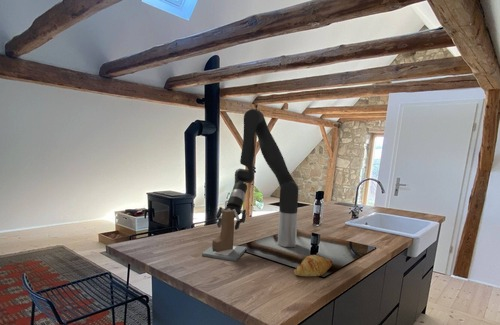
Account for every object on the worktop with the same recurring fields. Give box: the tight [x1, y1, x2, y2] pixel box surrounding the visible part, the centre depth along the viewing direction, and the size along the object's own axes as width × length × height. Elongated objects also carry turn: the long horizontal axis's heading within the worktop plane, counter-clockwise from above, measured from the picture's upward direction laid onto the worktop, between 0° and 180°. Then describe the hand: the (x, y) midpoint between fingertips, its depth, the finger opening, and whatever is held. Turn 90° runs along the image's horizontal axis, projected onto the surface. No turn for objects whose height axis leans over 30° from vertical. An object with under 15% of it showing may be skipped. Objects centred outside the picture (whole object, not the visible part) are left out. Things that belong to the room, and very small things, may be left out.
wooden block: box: [211, 210, 235, 252], centre depth 133 cm, size 9×4×18 cm, turn 127°
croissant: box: [293, 254, 333, 277], centre depth 116 cm, size 21×10×8 cm, turn 125°
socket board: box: [201, 244, 247, 262], centre depth 133 cm, size 16×16×1 cm
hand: (227, 227), depth 134 cm, fingers open, 8 cm apart
